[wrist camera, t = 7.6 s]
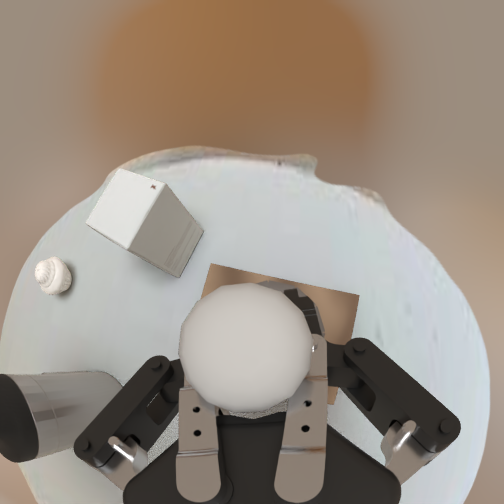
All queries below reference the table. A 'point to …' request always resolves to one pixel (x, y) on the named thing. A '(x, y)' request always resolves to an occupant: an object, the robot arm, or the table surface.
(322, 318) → the socket base
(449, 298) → the table surface
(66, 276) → the muffin
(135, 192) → the supplement box
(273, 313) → the salt shaker
